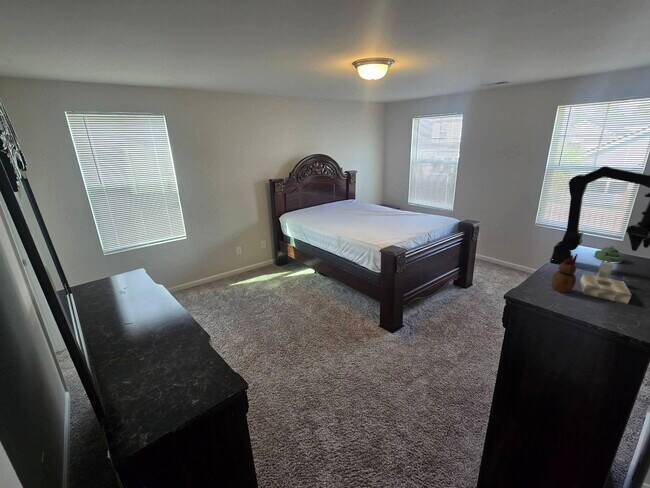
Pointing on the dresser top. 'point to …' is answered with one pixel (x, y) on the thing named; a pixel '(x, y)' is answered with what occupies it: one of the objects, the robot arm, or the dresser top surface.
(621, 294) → the hole block
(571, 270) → the wooden figurine
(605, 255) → the decorative artifact
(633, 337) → the dresser top surface
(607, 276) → the pin
